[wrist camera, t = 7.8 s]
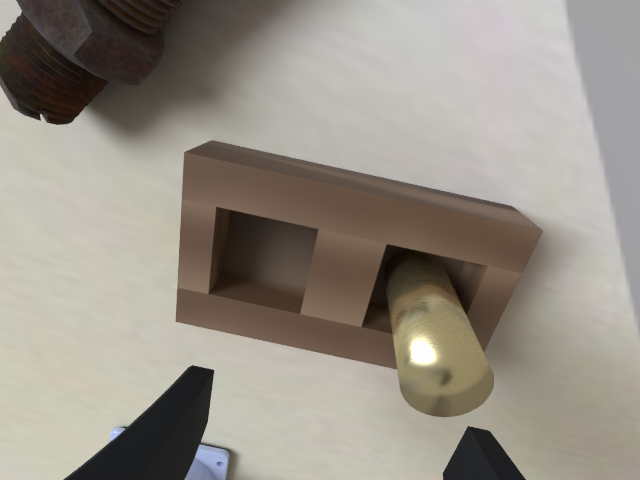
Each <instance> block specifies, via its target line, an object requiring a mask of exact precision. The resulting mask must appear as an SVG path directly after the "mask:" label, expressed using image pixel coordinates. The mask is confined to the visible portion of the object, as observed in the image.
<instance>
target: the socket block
mask: <svg viewBox="0 0 640 480" xmlns="http://www.w3.org/2000/svg"><path fill="white" fill-rule="evenodd" d="M542 232H543V231H542V230H541V229H540V228H539V227H537V226H536V225H535V224H534V223H532V222H531V221H530V220H529V219H527V218H526V217H525V216H523V215H522V214H521V213H520V212H518V211H517V210H516V209H515V208H513V207H512V206H508V205H504V204H499V203H495V202H490V201H486V200H481V199H476V198H472V197H467V196H463V195H458V194H454V193H449V192H445V191H440V190H435V189H431V188H426V187H422V186H417V185H413V184H408V183H404V182H399V181H394V180H390V179H385V178H381V177H376V176H372V175H367V174H363V173H358V172H354V171H349V170H344V169H340V168H335V167H331V166H326V165H322V164H317V163H313V162H308V161H303V160H299V159H294V158H290V157H285V156H281V155H276V154H272V153H267V152H262V151H258V150H253V149H249V148H244V147H240V146H235V145H231V144H226V143H222V142H217V141H212V140H211V141H209V142H207V143H204V144H202V145H200V146H198V147H195V148H193V149H191V150H188V151H186V152H184V168H183V188H182V208H181V228H180V248H179V268H178V287H177V307H176V322H179V323H184V324H189V325H193V326H198V327H203V328H207V329H212V330H217V331H221V332H226V333H231V334H235V335H240V336H245V337H249V338H254V339H259V340H263V341H268V342H272V343H277V344H282V345H286V346H291V347H296V348H300V349H305V350H310V351H314V352H319V353H324V354H328V355H333V356H338V357H342V358H347V359H351V360H356V361H361V362H365V363H370V364H375V365H379V366H384V367H389V368H393V369H397V363H396V356H395V349H394V342H393V335H392V328H391V321H390V314H389V307H388V300H387V293H386V286H385V279H384V270H385V267H386V264H387V262H388V261H389V259H390V258H391V257H392V256H393V255H394V254H396V253H397V252H399V251H401V250H404V249H407V248H408V249H412V250H417V251H422V252H426V253H431V254H435V255H437V256H438V258H439V259H440V260H441V262H442V264H443V266H444V269H445V271H446V273H447V275H448V277H449V279H450V281H451V284H452V286H453V288H454V290H455V292H456V294H457V296H458V299H459V301H460V303H461V305H462V307H463V309H464V312H465V314H466V316H467V318H468V320H469V322H470V324H471V327H472V329H473V331H474V333H475V335H476V337H477V339H478V342H479V344H480V346H481V348H482V350H483V352H484V350H485V348H486V346H487V344H488V342H489V340H490V338H491V336H492V334H493V332H494V330H495V328H496V326H497V324H498V322H499V320H500V318H501V316H502V313H503V311H504V309H505V307H506V305H507V303H508V301H509V299H510V297H511V295H512V293H513V291H514V289H515V287H516V285H517V283H518V281H519V279H520V277H521V275H522V273H523V271H524V269H525V266H526V264H527V262H528V260H529V258H530V256H531V254H532V252H533V250H534V248H535V246H536V244H537V242H538V240H539V238H540V236H541V234H542Z"/></svg>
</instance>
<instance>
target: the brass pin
mask: <svg viewBox="0 0 640 480" xmlns="http://www.w3.org/2000/svg"><path fill="white" fill-rule="evenodd" d="M384 279H385V286H386V293H387V300H388V307H389V314H390V321H391V328H392V335H393V342H394V349H395V356H396V363H397V369H398V376H399V383H400V389H401V393H402V395H403V397H404V399H405V400H406V401H407V402H408V404H410V405H411V406H412V407H413V408H415V409H416V410H418V411H420V412H422V413H425V414H428V415H432V416H437V417H452V416H458V415H462V414H465V413H468V412H470V411H472V410H474V409H476V408H477V407H479V406H480V405H481V404H483V403H484V402H485V401H486V399H487V398H488V397H489V395H490V394H491V391H492V389H493V385H494V376H493V372H492V369H491V367H490V365H489V363H488V361H487V359H486V357H485V354H484V352H483V350H482V348H481V346H480V344H479V342H478V339H477V337H476V335H475V333H474V331H473V329H472V327H471V324H470V322H469V320H468V318H467V316H466V314H465V312H464V309H463V307H462V305H461V303H460V301H459V299H458V296H457V294H456V292H455V290H454V288H453V286H452V284H451V281H450V279H449V277H448V275H447V273H446V271H445V269H444V266H443V264H442V262H441V260H440V259H439V258H438V256H437V255H435V254H431V253H426V252H422V251H417V250H412V249H408V248H407V249H404V250H401V251H399V252H397V253H396V254H394V255H393V256H392V257H391V258H390V259H389V261H388V262H387V264H386V267H385V270H384Z"/></svg>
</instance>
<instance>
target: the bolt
mask: <svg viewBox="0 0 640 480" xmlns="http://www.w3.org/2000/svg"><path fill="white" fill-rule="evenodd" d="M17 2H18V4H19V6H20V8H21V10H22V13H21V16H19V17H17V20H16V22H15V23H13V24H12V26H11V29H10V30H9V31H7V32H6V36H4V37H2V40H1V42H0V85H1V87H2V89H3V91H4V93H5V94H6V96H7V98H8V99H9V101H10V103H11V105H12V106H13V108H14V109H15V110H17V111H19V112H20V113H22V114H23V115H25V116H28V117H31V118H34V119H37V120H40V121H41V119H40V114H42V115H43V117H44V119H45V120H46V122H47V123H51V124H56V125H61V124H68V123H71V122H72V121H73V120H74V119H75V118H76V117H77V116H78V115H79V114H80V112H81V111H82V110H83V109H84V108H85V106H87V105H88V104H89V102H91V101H92V99H93V97H96V95H97V94H98V92H99V91H100V90H102V89H103V86H106V84H107V83H108V81H110V82H113V83H120V84H128V85H136V86H138V85H139V84H140V83H141V82H142V81H143V80H144V79H145V78H146V76H147V75H148V74H149V73H150V72H151V71H152V70H153V69H154V68H155V67H156V66H157V64H158V62H159V59H160V57H161V55H162V52H163V49H164V41H163V38H162V35H161V33H160V30H159V28H158V27H161V26H162V25H163V21H166V20H168V18H169V14H173V13H174V12H175V7H179V6H180V5H181V0H17Z"/></svg>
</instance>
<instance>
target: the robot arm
mask: <svg viewBox="0 0 640 480" xmlns="http://www.w3.org/2000/svg"><path fill="white" fill-rule="evenodd" d="M213 375H214V370H211V369H207V368H202V367H198V366H193V365H192V366H190V367H188V368H187V370H186V371H185V372H184V373H183V374H182V375H181V376H180V377H179V378H178V379H177V380H176V381H175V382H174V383H173V384H172V385H171V387H170V388H169V389H168V390H167V391H166V392H165V393H164V394H163V395H161V396H160V397H159V398H158V399H157V400H156V401H155V402H154V403H153V404H152V405H151V406H150V407H149V408H148V409H147V410H146V411H145V412H144V413H142V414H141V415H140V416H139V417H138V418H137V419H136V420H135V421H134V422H133V423H132V424H131V425H129V426H128V427H127V428H126V429H125V428H120V427H117V428H114V429H113V431H112V432H111V434H110V443H108V444H107V445H106V446H105V447H104V448H103V449H101V450H100V451H99V452H98V453H97V454H95V455H94V456H93V457H92V458H91V459H89V460H88V461H87V462H86V463H84V464H83V465H82V466H81V467H79V468H78V469H77V470H75V471H74V472H73V473H72V474H70V475H69V476H68V477H66V478H65V479H64V480H226V478H227V471H228V464H229V458H230V454H229V453H228V451H226V450H224V449H219V448H215V447H210V446H205V445H200V442H201V439H202V436H203V434H204V431H205V428H206V425H207V423H208V415H209V407H210V399H211V391H212V383H213ZM443 480H526V479H525V478H524V477H523V475H522V474H521V473H520V471H519V470H518V469H517V467H516V466H515V464H514V463H513V462H512V460H511V459H510V458H509V456H508V455H507V454H506V452H505V451H504V449H503V448H502V447H501V445H500V444H499V443H498V441H497V440H496V439H495V437H494V436H493V435H492V434H491V432H490V431H488V430H483V429H479V428H474V427H470V426H468V427H467V429H466V431H465V433H464V435H463V437H462V439H461V440H460V442H459V444H458V446H457V448H456V450H455V452H454V454H453V455H452V457H451V459H450V461H449V463H448V465H447V467H446V469H445V470H444V472H443Z"/></svg>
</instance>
